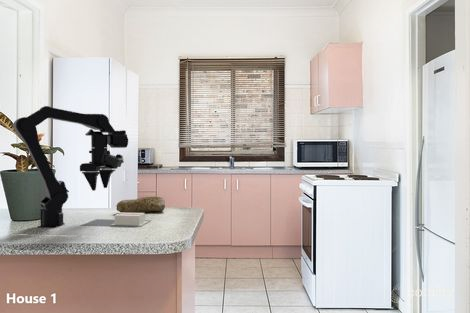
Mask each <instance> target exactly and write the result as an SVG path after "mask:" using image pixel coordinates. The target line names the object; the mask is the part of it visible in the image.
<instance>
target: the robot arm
mask: <svg viewBox="0 0 470 313" xmlns="http://www.w3.org/2000/svg"><path fill="white" fill-rule="evenodd" d="M47 119H51V120H57V121H61V122H67V123H73V124H79V125H82V126H83V127H84V126H85V127H86V128H89V130H88V131H87V132H86V133H85V136H89V137H91V139H90V140H91V141H90V142H91V143H90V144H91V145H90V146H91V149H90V150H89V151H88V153H89V154H91V155H90V156H91V161H89V162H84V163H81V164H80V165H79V171H80V172H81V174H82V175H83V176H84V178H85V179H86V180H87V183H88V185H89V186H90V189H91V191H96V190H97V183H98V182H97V181H98V176H99V177H100V180H101V183H102V186H103V189H107V188H108V185H109V182H110V179H111V178H110V177H111V176H112V174H113V173H114V172H116V169H117V170H118V168H121V167H122V164H124V162H125V161H124V156H123V155H122V154H121V153H120V154H119V153H117V154H116V155H113V154H111V151H110V150H108V146H109V147H110V148H111V149H113V148H114V149H116V148H117V149H119V148H120V149H124V148H125V149H126V148H127V147H128V145H129V138H128V135H127V131H126V130H115V129H114V127H113V126H112V124H110V119H109V117H108V116H107V115H106V114H104V113H83V112H82V113H80V112H77V111H73V110H72V111H71V110H66V109H61V108H60V109H59V108H56V107H51V106H48V105H45V106H42V107H40V108H39V109H38V110H37V111H35V112H33V113H31V114H30V115H29V116H24V117H20V118H17V119H16V120H15V121H14V122H13V124H12V129H13V131H14V132H15V133H16V135H17V137H18V138H19V139H20V140H21V141H22V143H23V144H24V145H25V146H26V149H27V150H28V152H29V155H30V157H31V159H32V161H33V164H34V165H35V167H36V169H37V171H38V173H39V175H40V177H41V180H42V182H43V189H44V192H45V193H44V194H45V197H44V198H43V199H42V200H41V201H40V202H39V205H40V207H41V209H40V211H39V212H40V214H39V215H40V225H38V226H37V228H49V229H51V228H58V227H61V226H63V225H64V226H65V223H64V212H63V207H64V206H63V205H64V204H66V202H67V201H68V199H69V193H70V191H69V190H68V189H67V187H66V183H65V181H64V180H63V181H62V180H58V179H57V178H56V175H55V173H54V171H53V169H52V167H51V165H50V162H49V161H48V158H47V157H46V155H45V152H44V150H43V148H42V146H41V143H40V141H39V135H38V130H37V126H39V125H40V124H41V123H43V122H44V121H45V120H47Z"/></svg>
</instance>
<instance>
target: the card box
mask: <svg viewBox="0 0 470 313" xmlns="http://www.w3.org/2000/svg"><path fill="white" fill-rule="evenodd" d="M114 220H115V224H120V225H140V224H142V223H144V222H145V220H146V212H142V213H122V212H120V213H117V214H115V215H114Z"/></svg>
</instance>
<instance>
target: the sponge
mask: <svg viewBox="0 0 470 313" xmlns="http://www.w3.org/2000/svg"><path fill="white" fill-rule="evenodd" d="M165 202H166V201H165V200H164V198H163V197H159V196H144V197H139V198H136V199H122V200H121V201H119V202H118V203H117V204H116V206H115V207H116V211H117V212H120V213H146V212H147V213H148V212H162V211H164V210H165V208H166V205H165Z"/></svg>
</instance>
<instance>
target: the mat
mask: <svg viewBox="0 0 470 313" xmlns="http://www.w3.org/2000/svg"><path fill="white" fill-rule="evenodd" d="M151 222H152V220H146V219H145V222H144V223H142V224H140V225H120V224H115V219H110V218H109V219H107V218H106V219H103V218H102V219H101V218H98V219H97V218H96V219H93V220H91V221H88V222H86V223H82V224H80V225H79V226H81V227H83V226H84V227H114V228H115V227H119V228H142V227H143V226H145V225H147V224H148V223H151Z"/></svg>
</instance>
